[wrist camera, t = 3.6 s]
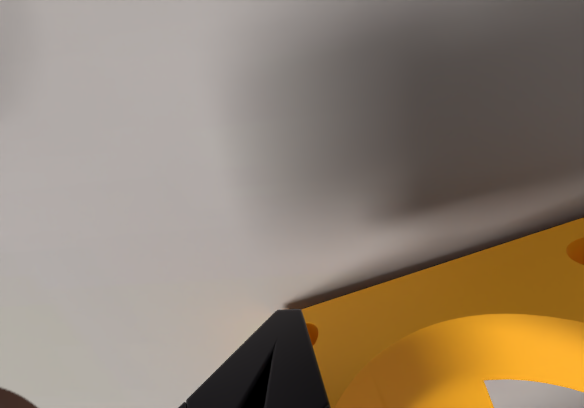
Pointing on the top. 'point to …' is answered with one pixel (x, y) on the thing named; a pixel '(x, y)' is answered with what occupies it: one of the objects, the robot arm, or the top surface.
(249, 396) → the robot arm
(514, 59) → the top surface
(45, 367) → the top surface
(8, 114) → the top surface
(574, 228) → the pipe clamp
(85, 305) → the top surface
